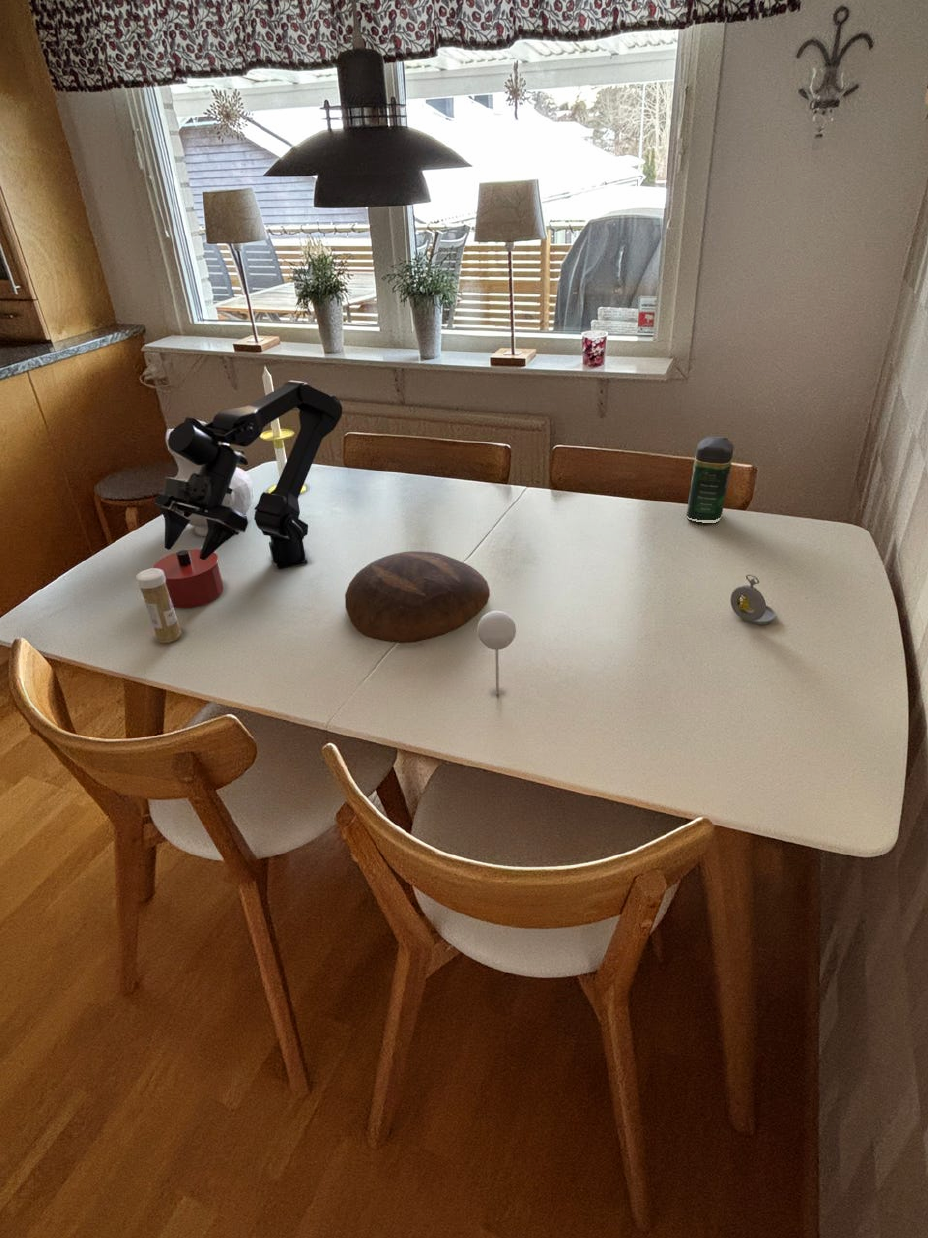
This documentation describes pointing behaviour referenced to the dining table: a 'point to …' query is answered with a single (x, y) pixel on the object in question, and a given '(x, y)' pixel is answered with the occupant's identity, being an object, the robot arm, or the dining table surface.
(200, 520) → the ceramic pitcher
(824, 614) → the dining table surface
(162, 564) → the pot lid
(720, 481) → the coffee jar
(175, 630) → the sprinkles bottle
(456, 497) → the dining table surface
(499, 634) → the lollipop
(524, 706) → the dining table surface
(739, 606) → the pocket watch
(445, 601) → the bread
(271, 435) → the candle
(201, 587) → the pot
